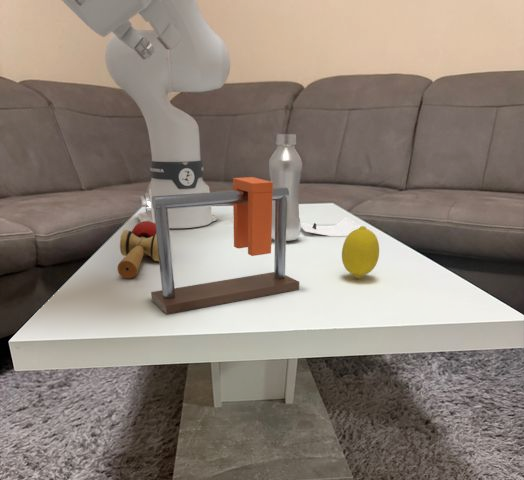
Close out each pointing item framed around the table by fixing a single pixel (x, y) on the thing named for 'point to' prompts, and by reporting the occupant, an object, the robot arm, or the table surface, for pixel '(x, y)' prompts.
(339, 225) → the folded paper
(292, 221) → the silver metal bottle
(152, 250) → the kendama
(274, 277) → the rail
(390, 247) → the table surface
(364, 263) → the lemon
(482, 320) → the table surface
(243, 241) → the orange u-shaped hook
